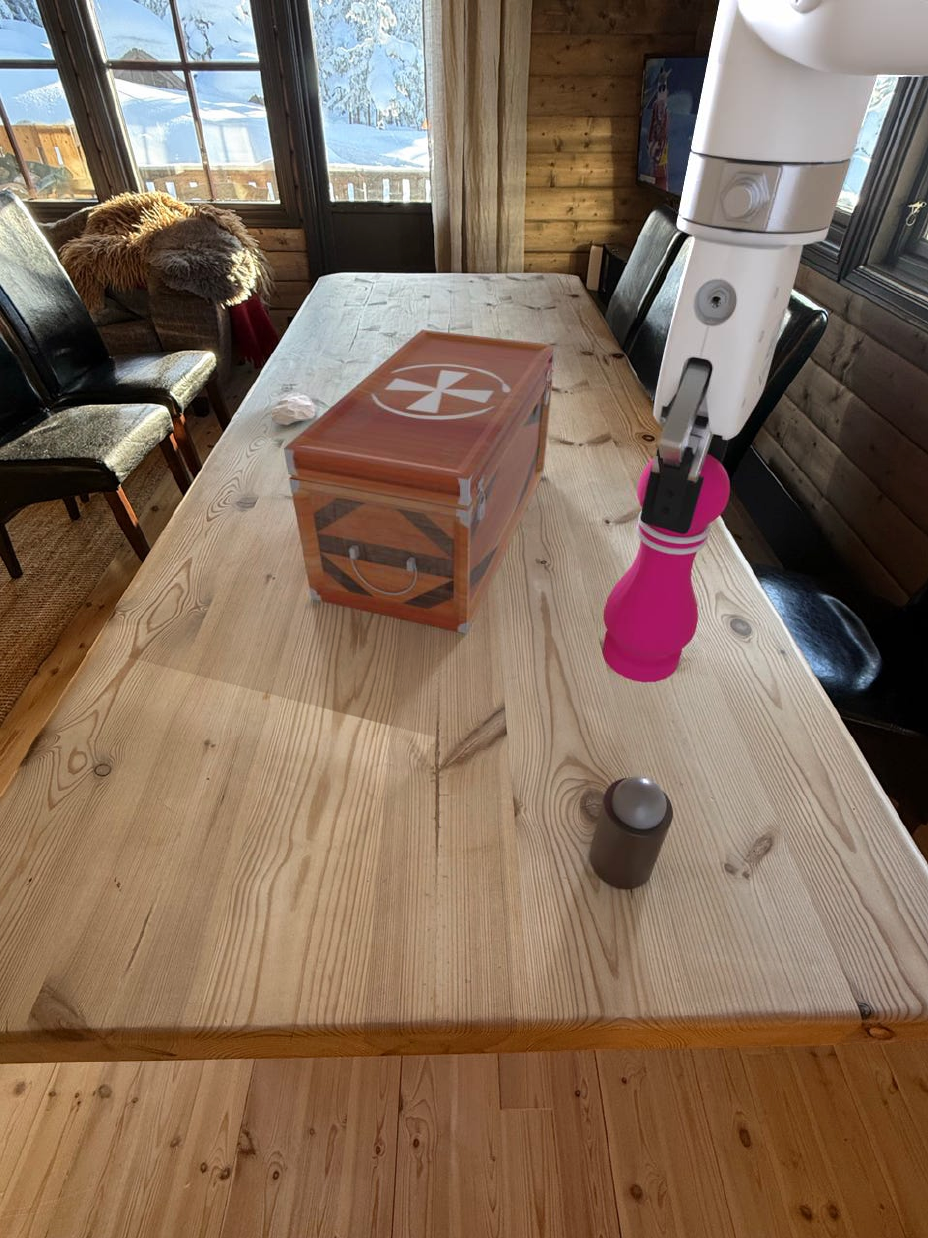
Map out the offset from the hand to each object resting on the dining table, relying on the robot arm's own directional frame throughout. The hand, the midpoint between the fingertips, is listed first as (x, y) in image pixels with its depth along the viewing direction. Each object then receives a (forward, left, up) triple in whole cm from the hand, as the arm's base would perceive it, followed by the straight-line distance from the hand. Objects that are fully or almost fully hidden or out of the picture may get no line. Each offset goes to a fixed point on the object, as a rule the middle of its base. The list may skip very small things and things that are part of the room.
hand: (679, 501), depth 45 cm
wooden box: (+34, -25, -28) cm, 51 cm away
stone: (+78, -45, -28) cm, 94 cm away
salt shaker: (-4, +11, -28) cm, 30 cm away
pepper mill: (0, 0, -15) cm, 15 cm away
